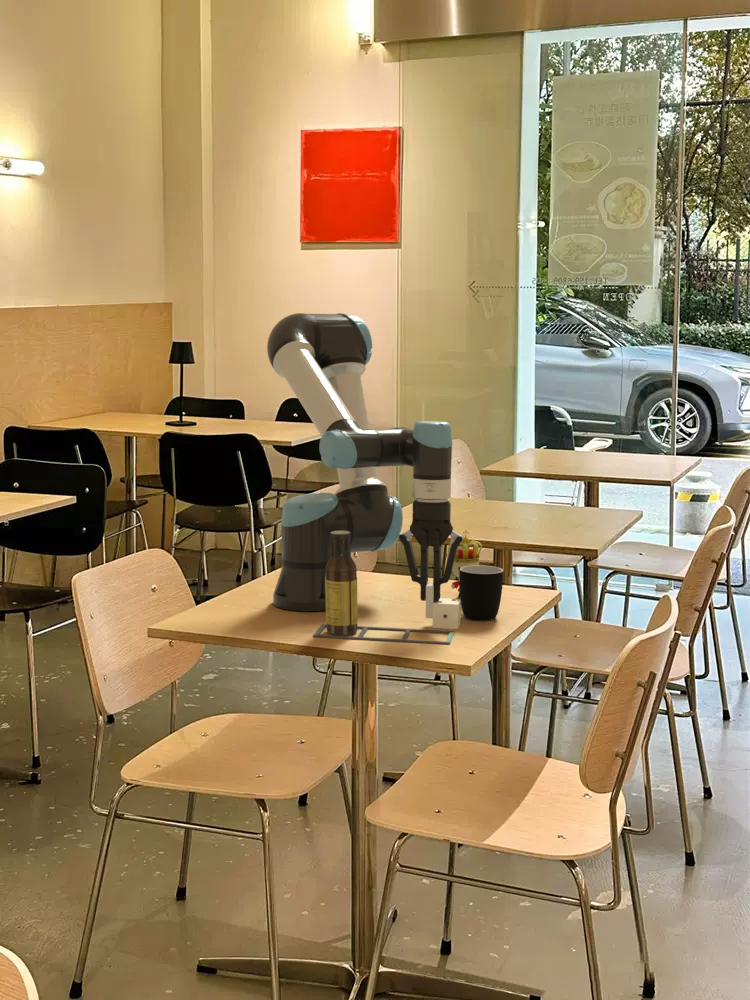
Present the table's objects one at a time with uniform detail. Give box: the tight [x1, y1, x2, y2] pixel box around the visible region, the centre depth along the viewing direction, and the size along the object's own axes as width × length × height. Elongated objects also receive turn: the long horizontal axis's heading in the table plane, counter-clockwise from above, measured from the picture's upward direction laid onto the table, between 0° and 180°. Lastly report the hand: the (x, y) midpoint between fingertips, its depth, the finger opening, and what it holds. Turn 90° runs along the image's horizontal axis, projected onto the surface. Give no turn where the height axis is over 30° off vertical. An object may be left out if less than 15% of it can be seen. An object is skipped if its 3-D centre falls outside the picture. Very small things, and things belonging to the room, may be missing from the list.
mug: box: [458, 564, 504, 622], centre depth 261 cm, size 12×9×10 cm
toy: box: [448, 529, 483, 598], centre depth 279 cm, size 7×7×15 cm
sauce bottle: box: [325, 531, 359, 636], centre depth 245 cm, size 6×6×20 cm
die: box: [432, 597, 462, 630], centre depth 253 cm, size 5×5×5 cm
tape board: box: [312, 623, 455, 645], centre depth 245 cm, size 9×26×1 cm, turn 81°
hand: (430, 616), depth 253 cm, fingers closed
